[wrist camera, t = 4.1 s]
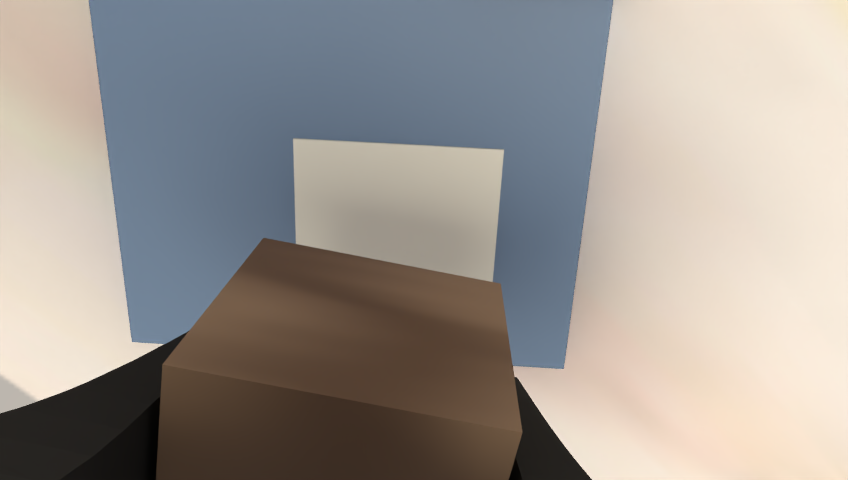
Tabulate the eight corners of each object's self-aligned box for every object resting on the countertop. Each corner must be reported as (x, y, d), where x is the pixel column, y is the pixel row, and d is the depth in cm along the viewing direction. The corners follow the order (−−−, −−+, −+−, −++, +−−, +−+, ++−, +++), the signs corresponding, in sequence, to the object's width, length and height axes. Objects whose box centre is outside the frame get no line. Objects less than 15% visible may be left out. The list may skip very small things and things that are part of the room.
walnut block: (241, 435, 14) (147, 626, 10) (263, 237, 12) (162, 364, 8) (452, 474, 14) (449, 681, 10) (500, 283, 12) (521, 432, 8)
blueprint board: (64, -331, 16) (42, -349, 15) (647, -313, 16) (658, -330, 15) (142, 330, 22) (130, 343, 22) (559, 356, 22) (564, 370, 21)
